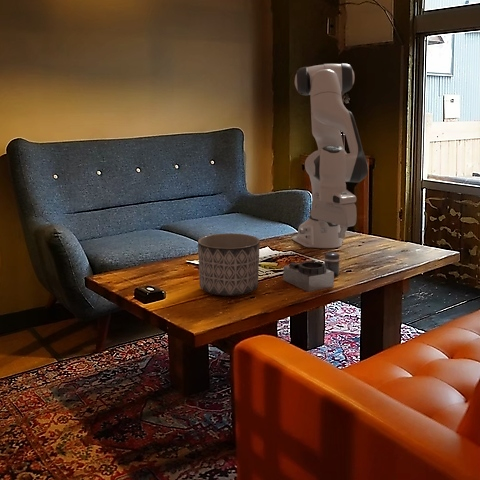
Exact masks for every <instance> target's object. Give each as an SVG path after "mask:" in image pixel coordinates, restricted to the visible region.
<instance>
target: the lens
mask: <svg viewBox="0 0 480 480" xmlns="http://www.w3.org/2000/svg"><path fill="white" fill-rule="evenodd" d="M323 259H324V262H323V263H324V264H326V269H328V270H330V271H333V272H334V278H335V277H338V276H339V273H340V254H339V253H337V252H326V253H324V258H323Z"/></svg>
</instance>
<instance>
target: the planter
mask: <svg viewBox="0 0 480 480" xmlns="http://www.w3.org/2000/svg"><path fill="white" fill-rule="evenodd" d="M260 242H261V240H260V239H259V238H258V237H256V236H254V235H249V234H244V233H235V232H234V233H232V232H231V233H225V232H224V233H214V234H209V235H204V236H202V237H200V238H199V239H198V240H197V249H198V252H197V253H198V254H197V255H198V270H199V273H198V274H199V287H200V289H201V290H202V291H204V292H205V293H208V294H211V295H217V296H222V297H223V296H224V297H236V296H240V295H241V296H242V295H246V294H250V293H252V292H254V291H256V290H257V289H258V288H259V274H260V273H259V271H260V245H261V244H260Z"/></svg>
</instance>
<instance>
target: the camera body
mask: <svg viewBox="0 0 480 480" xmlns="http://www.w3.org/2000/svg"><path fill="white" fill-rule="evenodd" d="M282 278H283V281H285V282H286V283H288V284H291V285H293V286H295V287H297V288H300V289H302V290H304V291H305V292H307V293H310V292H316V291H319V290H325V289H328V288H329V289H330V288H333V287H334V284H335V283H334V282H335V277H334V272H333V271H330V270H328V269H326V264H324V262H321V261H315V260H311V261H310V260H305V261H301V262H295V261H294V262H288V264H287V265H283V277H282Z"/></svg>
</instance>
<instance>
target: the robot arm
mask: <svg viewBox="0 0 480 480" xmlns="http://www.w3.org/2000/svg"><path fill="white" fill-rule="evenodd" d="M354 84H355V71H354V70H353V67H352V66H351V64H348V63H343V62H342V63H323V64H318V65H312V66H303V67H300V68H298V69H297V70H296V74H295V77H294V87H295V89H296V91H297V93H298V94H299V95H301V96H306V97H307V96H310V115H311V116H310V118H311V119H310V120H311V121H310V122H311V133H312V134H311V135H312V136H313V137H314V139H315V142H316V145H317V150H315V151H313V152H312V153H310V154H309V155H308V156H307V157H306V159H305V162H304V168H305V171H306V173H307V174H308V176H309V180H310V184H311V192H312V193H311V194H312V199H311V200H312V201H311V205H310V210H308V214H309V216H308V219H306V220H304V221H303V222H302V223H301V224H300V225H299V226H298V230H297V235H294V236H292V237H291V240H293V241H294V242H296V243H298V244H300V245H302V246H304V247H305V248H318V249H319V248H320V249H336V248H339V247H341V246H343V242H344V238H346V232H347V230H348V228H350V227H354V226H355V225H356V223H357V213H358V212H357V205H356V204H355V203H356V202H357V196H356V195H355V194H353V193H352V192H351V191H349V190H348V189H347V184H346V183H360V182H362V181H363V180H364V179H366V177H367V176H368V172H369V164H368V159H367V157H366V155H365V152H364V150H363V145H362V141H361V136H360V135H359V134H360V133H359V129H358V127H357V123H356V119H355V117H354V115H353V112H352V111H350V110H349V109H347V108H346V106H345V105H344V102H343V98H342V97H343V96H344V95H345V93H347V92H348V93H349V92H350V91H351V90H352V89H353V86H354ZM341 132H342V133H343V134H344V135H345V137H346V141H347V145H348V149H349V153H347V151H346V150H345V146H344V141H343V137H342V133H341Z"/></svg>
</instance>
